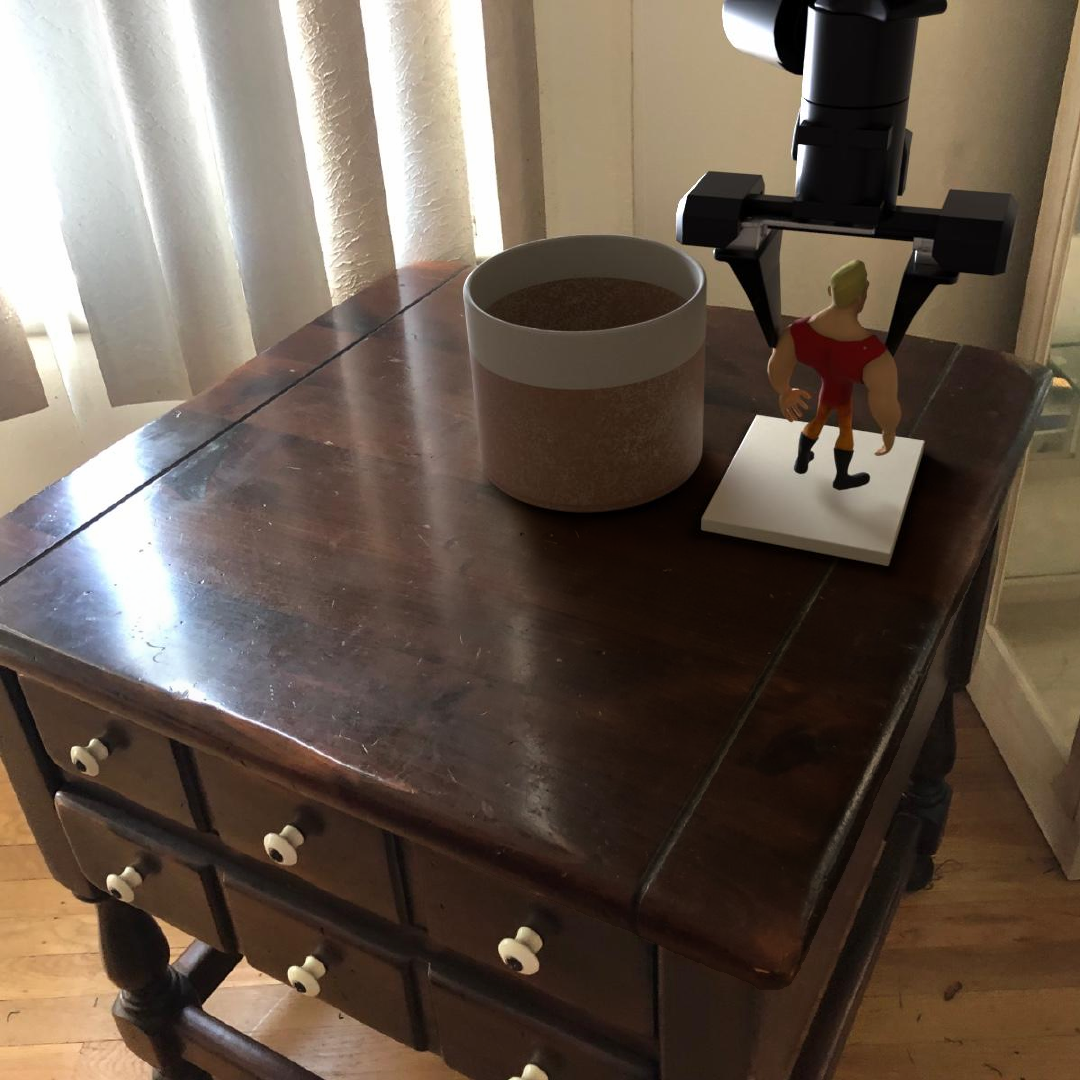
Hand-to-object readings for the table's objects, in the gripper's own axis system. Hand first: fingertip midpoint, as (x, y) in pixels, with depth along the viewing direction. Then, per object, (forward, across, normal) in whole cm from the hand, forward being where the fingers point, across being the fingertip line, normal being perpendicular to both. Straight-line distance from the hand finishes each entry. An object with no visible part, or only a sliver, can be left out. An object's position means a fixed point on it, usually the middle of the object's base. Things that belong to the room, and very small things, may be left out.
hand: (830, 352), depth 72 cm
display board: (+10, 0, 0) cm, 10 cm away
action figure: (+9, -1, 0) cm, 9 cm away
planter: (+10, +16, +1) cm, 19 cm away
